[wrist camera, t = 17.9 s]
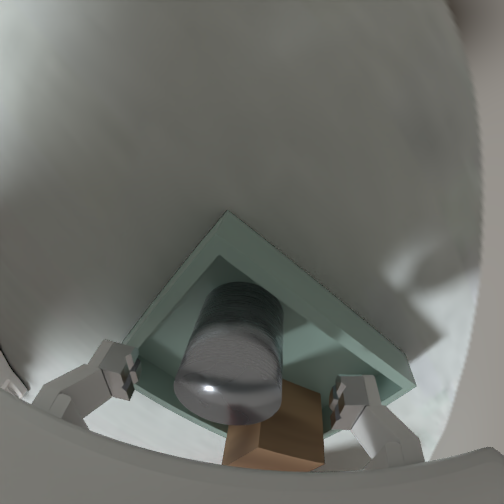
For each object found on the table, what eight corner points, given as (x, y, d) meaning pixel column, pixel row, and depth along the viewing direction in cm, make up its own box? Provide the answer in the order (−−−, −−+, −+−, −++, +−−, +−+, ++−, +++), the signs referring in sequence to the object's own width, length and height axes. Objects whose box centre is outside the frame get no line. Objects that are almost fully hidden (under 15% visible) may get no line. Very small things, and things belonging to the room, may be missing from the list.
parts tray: (278, 431, 20) (277, 458, 18) (122, 342, 17) (106, 370, 15) (405, 355, 16) (416, 386, 14) (227, 209, 13) (215, 233, 11)
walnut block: (283, 421, 19) (281, 484, 14) (232, 402, 18) (221, 468, 14) (320, 393, 17) (324, 463, 13) (265, 371, 16) (258, 447, 12)
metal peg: (265, 354, 16) (257, 433, 11) (193, 330, 15) (166, 406, 11) (297, 299, 14) (300, 382, 10) (215, 269, 14) (185, 346, 9)
